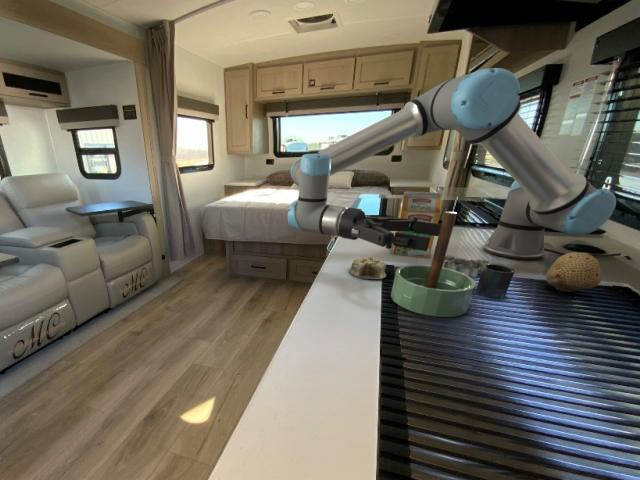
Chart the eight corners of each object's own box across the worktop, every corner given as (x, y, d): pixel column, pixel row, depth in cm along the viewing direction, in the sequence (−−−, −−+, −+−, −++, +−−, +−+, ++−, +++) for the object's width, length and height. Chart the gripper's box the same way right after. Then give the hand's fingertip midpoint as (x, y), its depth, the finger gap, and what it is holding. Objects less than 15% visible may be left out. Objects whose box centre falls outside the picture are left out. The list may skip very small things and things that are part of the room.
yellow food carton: (392, 254, 108) (404, 193, 100) (392, 245, 117) (403, 189, 108) (429, 257, 104) (444, 195, 96) (425, 248, 113) (440, 190, 105)
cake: (344, 269, 97) (346, 251, 95) (378, 270, 97) (381, 252, 95) (354, 279, 88) (357, 260, 86) (392, 280, 88) (396, 260, 86)
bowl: (449, 290, 82) (456, 266, 79) (480, 321, 68) (491, 293, 65) (383, 287, 84) (388, 263, 81) (401, 317, 70) (407, 289, 67)
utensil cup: (495, 291, 81) (505, 264, 78) (509, 301, 76) (520, 273, 73) (470, 290, 82) (478, 263, 79) (482, 300, 77) (491, 272, 74)
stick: (430, 298, 77) (454, 211, 68) (434, 303, 75) (459, 213, 66) (420, 298, 77) (442, 211, 68) (423, 302, 75) (447, 213, 66)
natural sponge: (601, 297, 77) (622, 257, 73) (574, 303, 75) (594, 261, 71) (558, 283, 85) (574, 245, 81) (532, 287, 83) (548, 249, 79)
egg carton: (487, 275, 91) (492, 261, 89) (470, 280, 88) (475, 265, 86) (450, 263, 99) (454, 250, 97) (433, 267, 96) (437, 254, 94)
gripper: (363, 228, 93) (447, 241, 80) (317, 248, 76) (415, 269, 64) (367, 200, 90) (456, 210, 77) (320, 215, 73) (424, 231, 60)
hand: (437, 237), depth 70 cm, fingers open, 13 cm apart
